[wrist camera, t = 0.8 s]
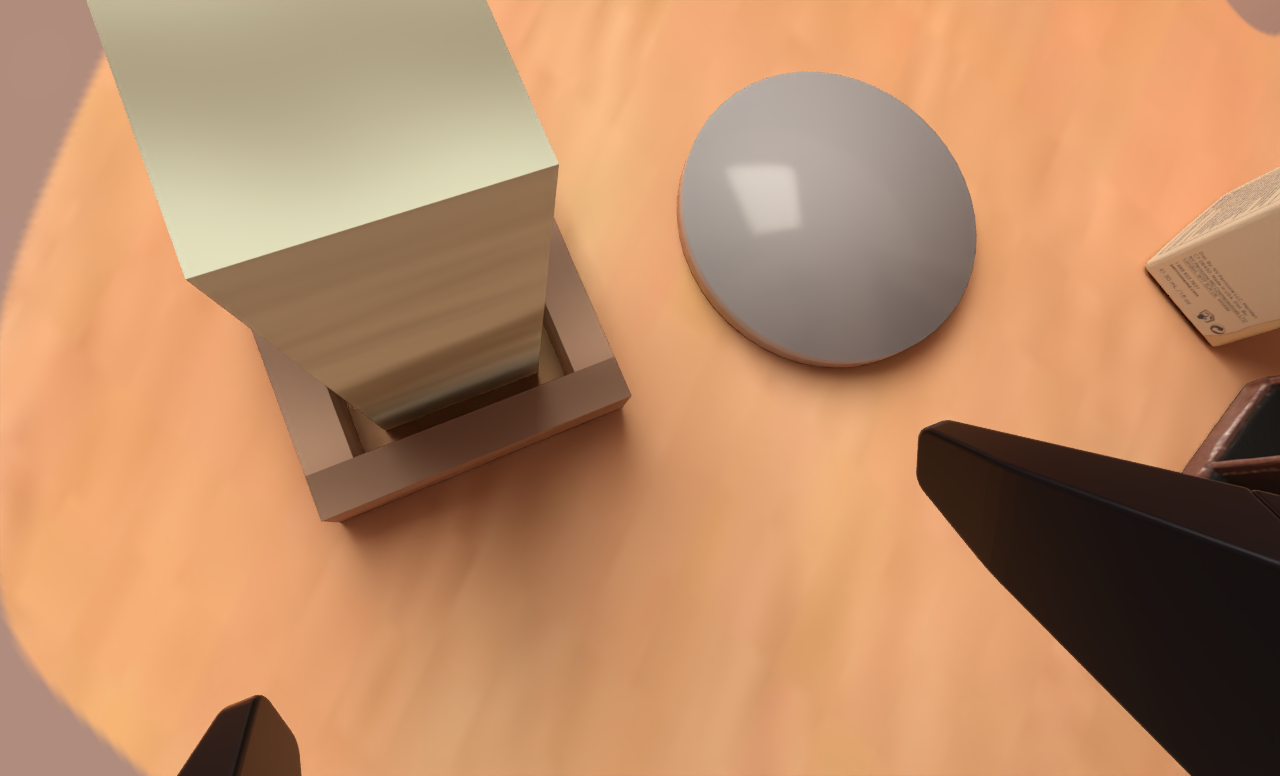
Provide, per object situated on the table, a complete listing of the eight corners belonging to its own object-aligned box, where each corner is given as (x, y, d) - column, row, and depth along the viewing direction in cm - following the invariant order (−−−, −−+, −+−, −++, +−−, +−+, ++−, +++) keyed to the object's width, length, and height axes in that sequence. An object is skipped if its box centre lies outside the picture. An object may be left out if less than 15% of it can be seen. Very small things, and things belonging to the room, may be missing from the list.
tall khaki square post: (537, 372, 22) (558, 164, 10) (385, 431, 21) (185, 278, 8) (480, 237, 23) (431, -124, 10) (330, 286, 22) (67, -53, 9)
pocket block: (622, 407, 22) (631, 395, 20) (340, 522, 20) (321, 520, 18) (516, 164, 24) (516, 131, 22) (239, 248, 21) (211, 220, 19)
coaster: (961, 385, 25) (979, 379, 24) (664, 345, 23) (670, 337, 22) (957, 117, 27) (973, 101, 26) (688, 64, 26) (694, 46, 25)
